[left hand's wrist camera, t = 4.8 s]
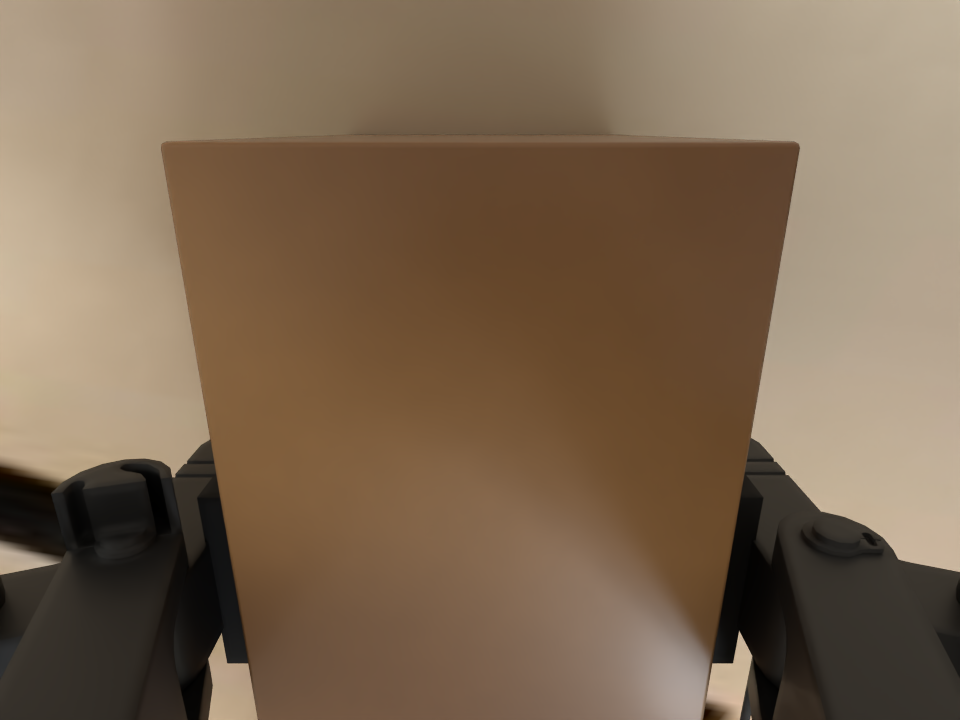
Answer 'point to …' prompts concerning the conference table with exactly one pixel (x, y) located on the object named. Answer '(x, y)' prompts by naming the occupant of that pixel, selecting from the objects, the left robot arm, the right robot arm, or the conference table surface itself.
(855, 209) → the conference table surface
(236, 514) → the beam
